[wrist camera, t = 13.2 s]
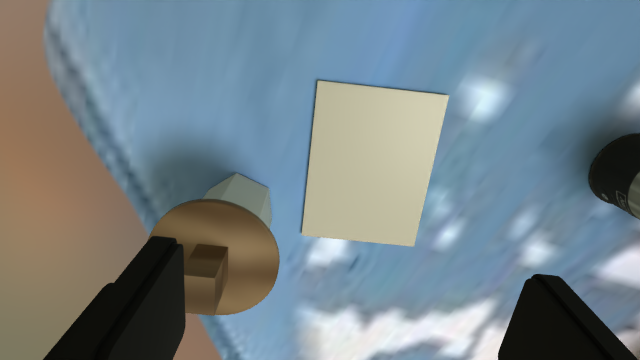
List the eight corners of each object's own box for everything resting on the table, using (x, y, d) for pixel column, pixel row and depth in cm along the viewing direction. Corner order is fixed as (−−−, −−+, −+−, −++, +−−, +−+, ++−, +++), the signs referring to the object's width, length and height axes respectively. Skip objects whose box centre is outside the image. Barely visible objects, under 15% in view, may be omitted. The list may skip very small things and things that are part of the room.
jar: (204, 173, 48) (168, 217, 37) (269, 171, 48) (252, 215, 37) (213, 235, 51) (183, 293, 40) (274, 234, 51) (261, 292, 40)
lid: (147, 191, 36) (114, 221, 31) (284, 206, 37) (277, 238, 31) (153, 302, 41) (126, 345, 35) (274, 314, 41) (267, 358, 36)
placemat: (317, 80, 44) (317, 80, 43) (447, 94, 44) (448, 95, 44) (301, 233, 51) (301, 235, 50) (412, 244, 52) (413, 246, 51)
